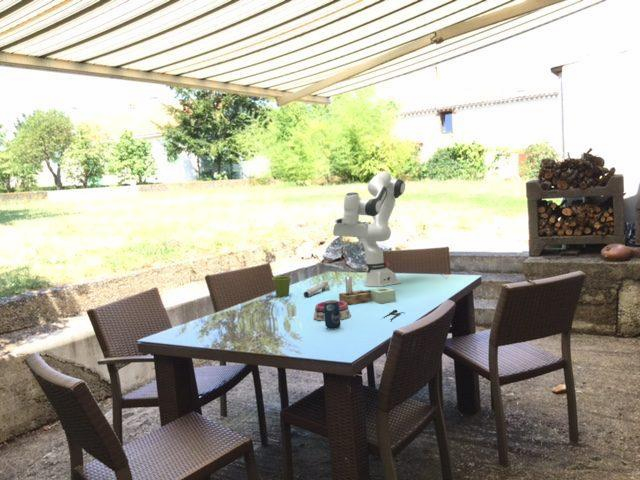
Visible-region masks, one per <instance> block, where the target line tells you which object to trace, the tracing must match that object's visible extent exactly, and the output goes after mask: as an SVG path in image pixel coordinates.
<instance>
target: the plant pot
mask: <svg viewBox="0 0 640 480" xmlns="http://www.w3.org/2000/svg"><path fill="white" fill-rule="evenodd" d="M291 278H292V276H288V275H285V276H284V275H282V276H281V275H280V276H276V277H272V278H271V280H272V282H273V284H274V288H275V291H276V292H275V293H276V296H277V297H278V298H279V297H280V298H281V297H288V296H290V285H291V284H290V283H291Z"/></svg>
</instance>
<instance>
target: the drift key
mask: <svg viewBox="0 0 640 480" xmlns="http://www.w3.org/2000/svg"><path fill="white" fill-rule="evenodd" d="M381 288H382V287H381ZM381 288H379V287H378V289H381ZM374 289H375V288H374ZM374 289H368V290H363V293H366V292H368V293H371V290H374Z"/></svg>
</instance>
